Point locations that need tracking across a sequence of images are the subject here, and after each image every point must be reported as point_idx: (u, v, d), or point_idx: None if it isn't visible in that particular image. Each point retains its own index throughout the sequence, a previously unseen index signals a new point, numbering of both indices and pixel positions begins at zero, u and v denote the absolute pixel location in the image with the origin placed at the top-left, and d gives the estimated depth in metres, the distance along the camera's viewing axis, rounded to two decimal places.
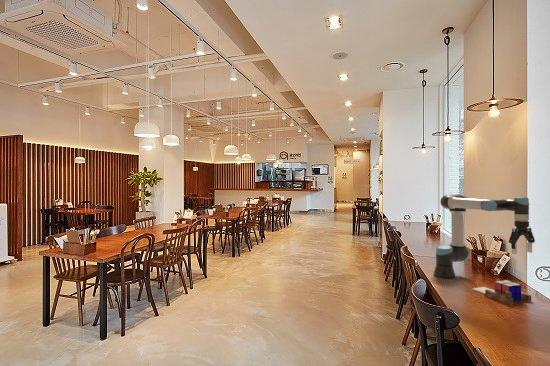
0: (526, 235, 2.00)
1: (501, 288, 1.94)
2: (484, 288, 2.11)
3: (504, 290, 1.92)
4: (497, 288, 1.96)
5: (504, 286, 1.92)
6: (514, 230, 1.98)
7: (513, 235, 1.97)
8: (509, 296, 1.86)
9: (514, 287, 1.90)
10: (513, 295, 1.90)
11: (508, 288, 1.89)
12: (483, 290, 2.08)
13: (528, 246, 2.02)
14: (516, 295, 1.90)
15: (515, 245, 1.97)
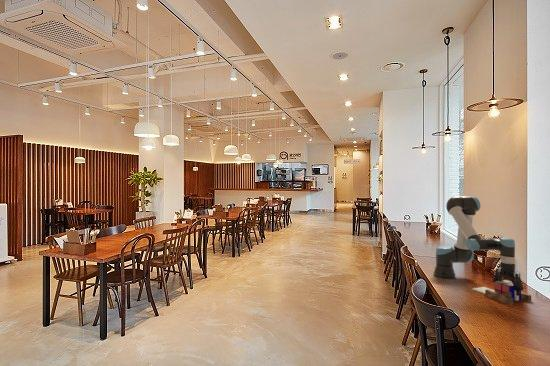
0: None
1: (501, 288, 1.94)
2: (484, 288, 2.11)
3: (504, 290, 1.92)
4: (497, 288, 1.96)
5: (504, 286, 1.92)
6: None
7: None
8: (509, 296, 1.86)
9: (514, 287, 1.90)
10: (513, 295, 1.90)
11: (508, 288, 1.89)
12: (483, 290, 2.08)
13: None
14: None
15: None
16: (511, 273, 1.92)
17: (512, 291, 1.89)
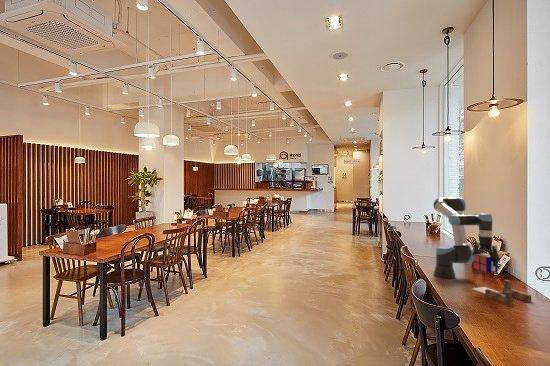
0: None
1: (479, 260, 2.07)
2: (484, 288, 2.11)
3: (482, 261, 2.05)
4: (476, 260, 2.09)
5: (482, 258, 2.05)
6: None
7: None
8: (509, 296, 1.86)
9: None
10: (490, 266, 2.03)
11: (485, 259, 2.03)
12: (483, 290, 2.08)
13: None
14: None
15: None
16: (488, 246, 2.05)
17: (489, 262, 2.02)
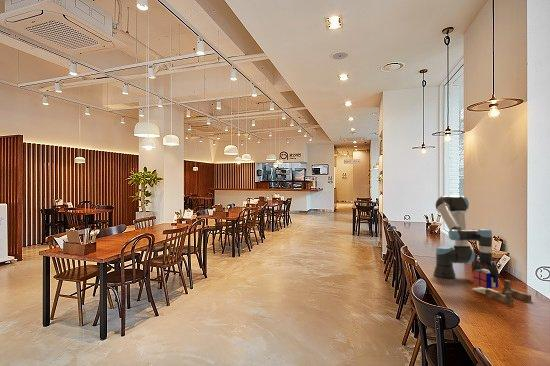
0: None
1: (479, 276, 2.07)
2: (484, 288, 2.11)
3: (482, 277, 2.05)
4: (476, 276, 2.09)
5: (482, 274, 2.05)
6: None
7: None
8: (509, 296, 1.86)
9: None
10: (490, 282, 2.03)
11: (485, 275, 2.02)
12: (483, 290, 2.08)
13: None
14: None
15: None
16: (488, 262, 2.05)
17: (489, 278, 2.02)
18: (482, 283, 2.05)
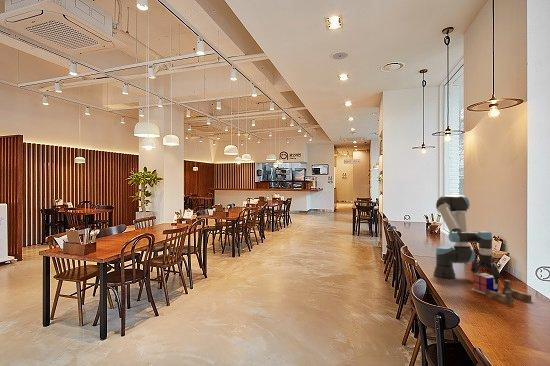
0: None
1: (479, 280, 2.07)
2: None
3: (482, 282, 2.05)
4: (476, 280, 2.09)
5: (482, 278, 2.05)
6: None
7: None
8: (509, 296, 1.86)
9: (491, 279, 2.03)
10: (490, 286, 2.03)
11: (485, 280, 2.03)
12: None
13: None
14: None
15: None
16: (488, 264, 2.05)
17: (489, 283, 2.02)
18: (482, 288, 2.05)
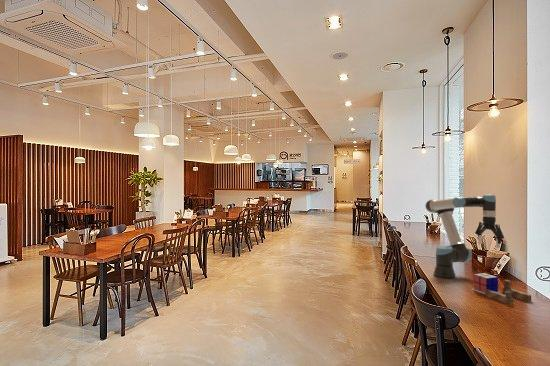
0: None
1: (479, 280, 2.07)
2: None
3: (482, 282, 2.05)
4: (476, 280, 2.09)
5: (482, 278, 2.05)
6: None
7: None
8: (509, 296, 1.86)
9: (491, 279, 2.03)
10: (490, 286, 2.03)
11: (485, 280, 2.03)
12: None
13: None
14: (493, 286, 2.03)
15: (478, 236, 2.23)
16: (492, 225, 2.13)
17: (489, 283, 2.02)
18: (482, 288, 2.05)
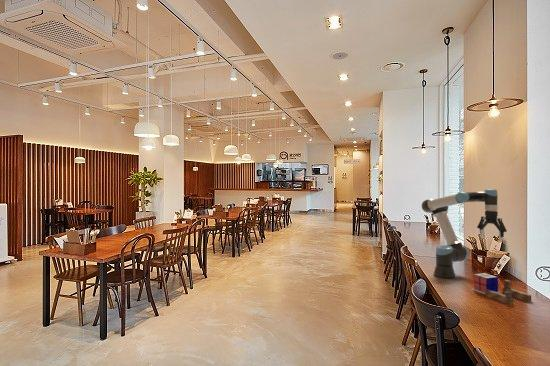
0: None
1: (479, 280, 2.07)
2: None
3: (482, 282, 2.05)
4: (476, 280, 2.09)
5: (482, 278, 2.05)
6: None
7: None
8: (509, 296, 1.86)
9: (491, 279, 2.03)
10: (490, 286, 2.03)
11: (485, 280, 2.03)
12: None
13: None
14: (493, 286, 2.03)
15: (480, 230, 2.27)
16: (494, 219, 2.17)
17: (489, 283, 2.02)
18: (482, 288, 2.05)
